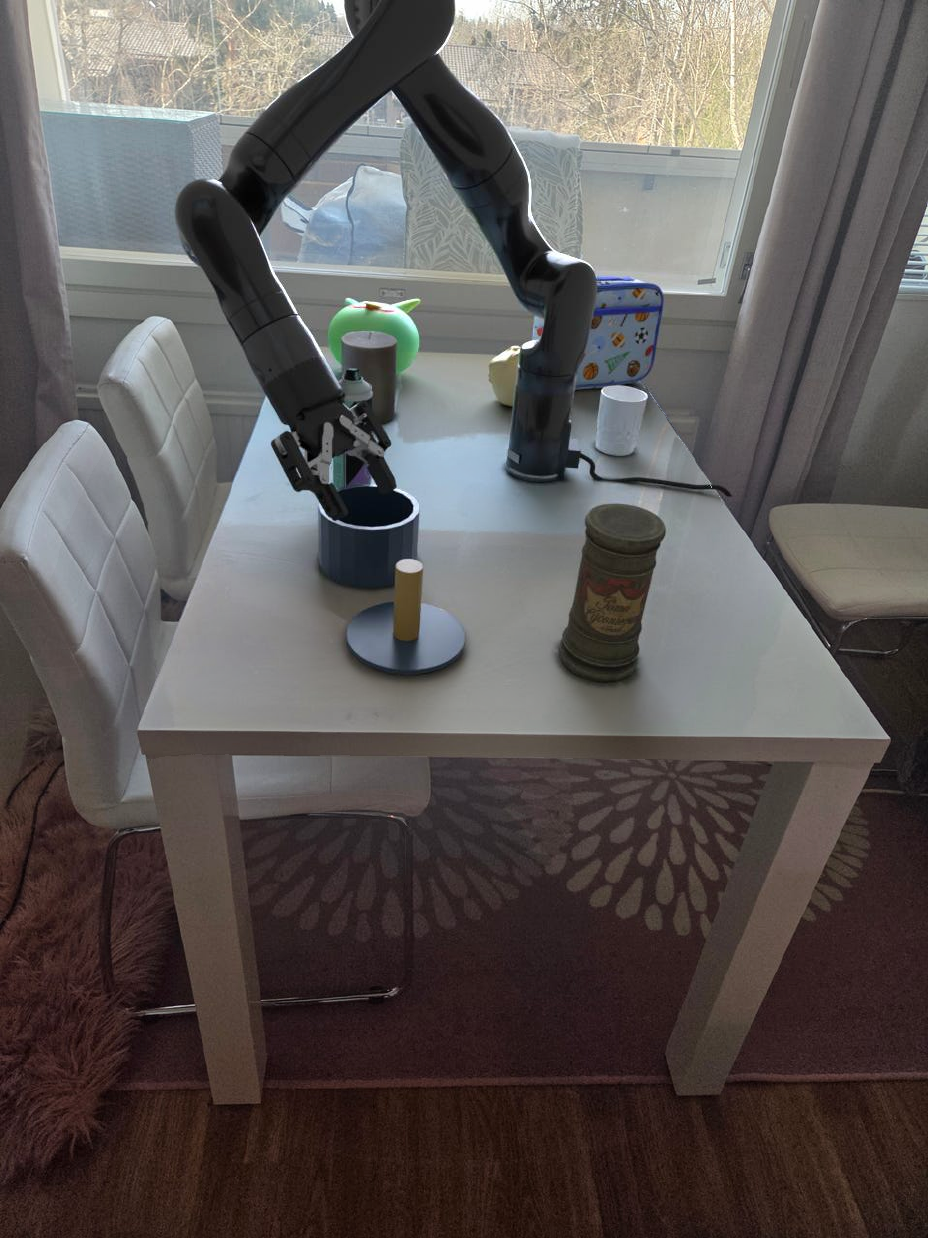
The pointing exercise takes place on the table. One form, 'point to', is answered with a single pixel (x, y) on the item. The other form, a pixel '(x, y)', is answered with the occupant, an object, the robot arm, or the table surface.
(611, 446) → the white cup
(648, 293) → the lunch box
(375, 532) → the tin
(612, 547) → the container
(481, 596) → the table surface
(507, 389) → the sculpture
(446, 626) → the lid
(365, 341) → the pillar candle
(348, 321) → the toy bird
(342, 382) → the spray can
